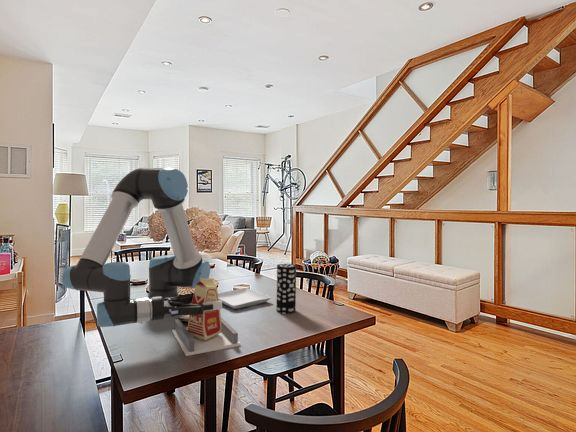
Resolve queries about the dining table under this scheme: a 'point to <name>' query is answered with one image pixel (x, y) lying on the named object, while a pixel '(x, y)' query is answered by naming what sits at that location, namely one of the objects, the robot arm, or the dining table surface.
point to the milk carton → (210, 320)
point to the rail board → (199, 345)
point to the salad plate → (242, 298)
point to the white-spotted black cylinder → (286, 288)
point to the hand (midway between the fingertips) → (217, 300)
